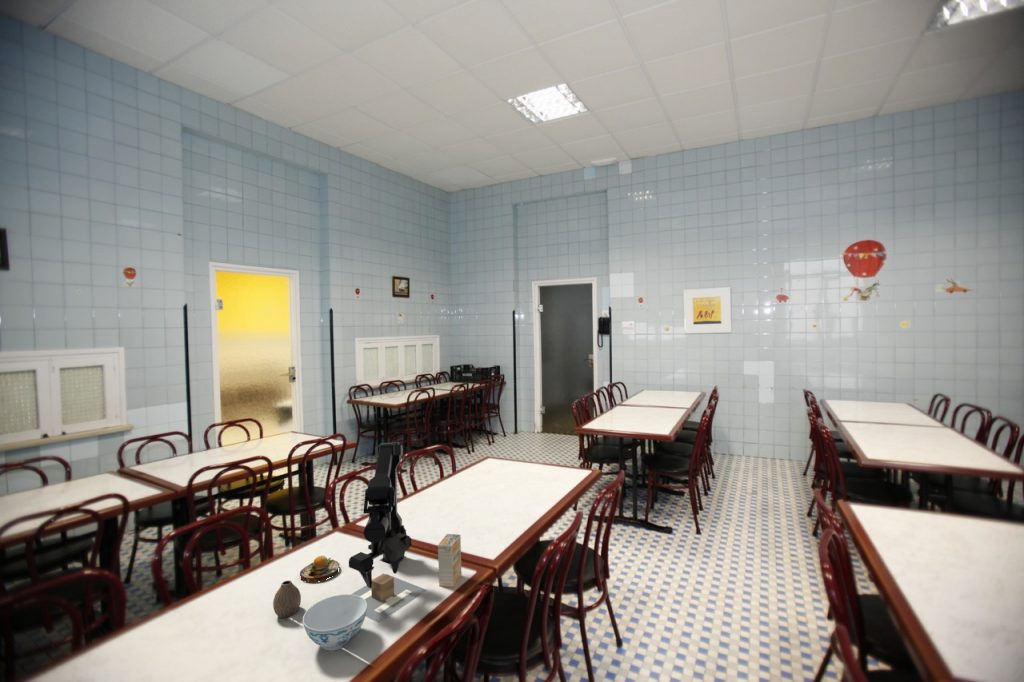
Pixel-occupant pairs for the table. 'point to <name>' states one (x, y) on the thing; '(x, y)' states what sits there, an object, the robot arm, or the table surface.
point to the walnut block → (382, 587)
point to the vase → (286, 600)
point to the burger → (319, 569)
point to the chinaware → (335, 620)
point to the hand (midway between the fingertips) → (382, 580)
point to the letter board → (389, 599)
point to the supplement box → (449, 560)
